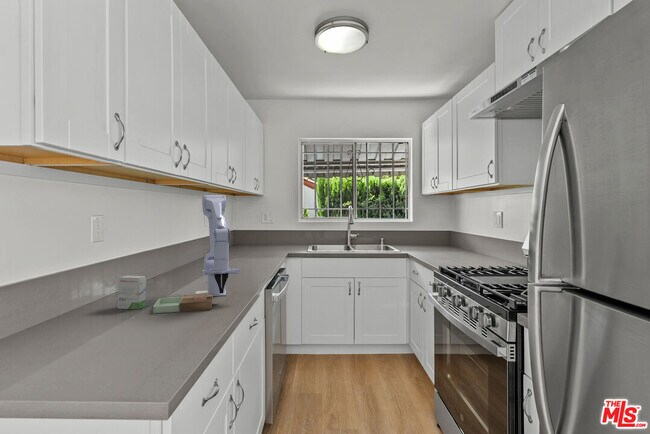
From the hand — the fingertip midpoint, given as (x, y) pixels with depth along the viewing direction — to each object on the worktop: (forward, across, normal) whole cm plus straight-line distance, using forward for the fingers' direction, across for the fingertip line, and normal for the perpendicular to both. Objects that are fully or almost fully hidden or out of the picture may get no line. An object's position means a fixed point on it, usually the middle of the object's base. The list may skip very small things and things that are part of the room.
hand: (221, 292), depth 145 cm
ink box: (+4, -32, +1) cm, 33 cm away
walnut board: (+4, -9, -3) cm, 10 cm away
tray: (+4, -19, -3) cm, 20 cm away
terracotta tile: (+1, -8, -6) cm, 10 cm away
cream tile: (+1, -8, 0) cm, 8 cm away
